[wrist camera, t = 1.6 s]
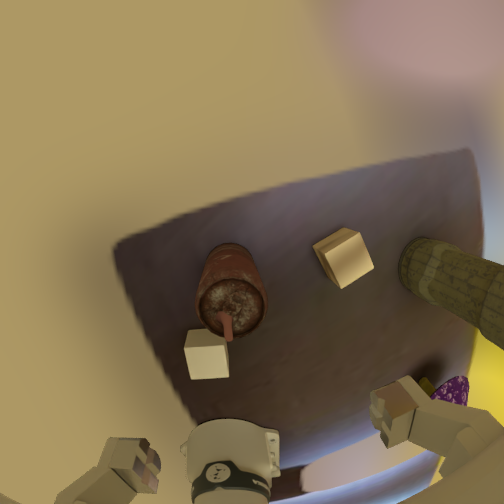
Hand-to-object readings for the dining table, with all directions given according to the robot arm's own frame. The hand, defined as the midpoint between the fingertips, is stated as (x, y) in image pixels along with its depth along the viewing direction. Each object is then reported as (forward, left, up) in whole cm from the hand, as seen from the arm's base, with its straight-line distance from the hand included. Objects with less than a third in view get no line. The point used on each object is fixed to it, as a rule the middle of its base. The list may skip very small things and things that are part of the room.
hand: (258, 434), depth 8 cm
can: (-1, +1, -28) cm, 28 cm away
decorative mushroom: (-34, -28, -28) cm, 53 cm away
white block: (-11, +7, -28) cm, 31 cm away
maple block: (-3, -13, -28) cm, 31 cm away
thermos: (-9, -27, -28) cm, 40 cm away
